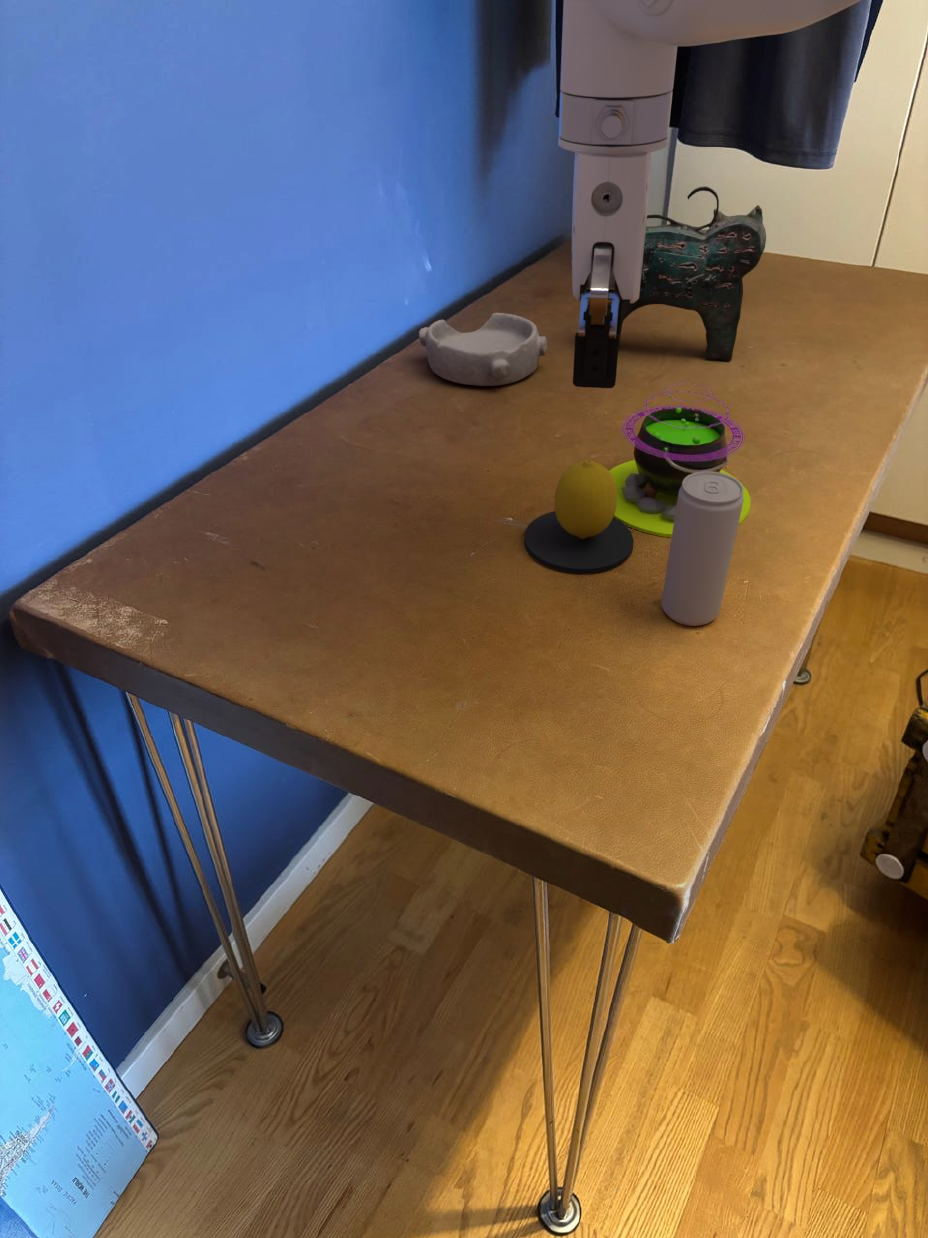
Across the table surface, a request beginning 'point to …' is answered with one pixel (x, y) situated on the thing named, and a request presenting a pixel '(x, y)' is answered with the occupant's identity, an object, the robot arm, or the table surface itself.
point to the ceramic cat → (702, 271)
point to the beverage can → (701, 547)
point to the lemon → (585, 499)
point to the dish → (484, 350)
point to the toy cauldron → (670, 462)
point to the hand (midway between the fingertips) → (596, 360)
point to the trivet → (577, 546)
